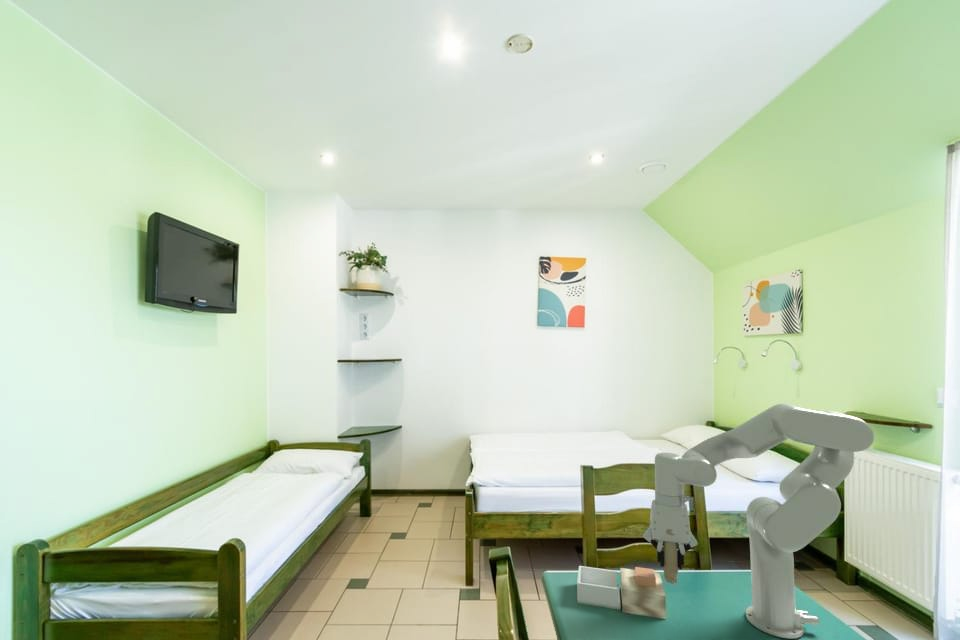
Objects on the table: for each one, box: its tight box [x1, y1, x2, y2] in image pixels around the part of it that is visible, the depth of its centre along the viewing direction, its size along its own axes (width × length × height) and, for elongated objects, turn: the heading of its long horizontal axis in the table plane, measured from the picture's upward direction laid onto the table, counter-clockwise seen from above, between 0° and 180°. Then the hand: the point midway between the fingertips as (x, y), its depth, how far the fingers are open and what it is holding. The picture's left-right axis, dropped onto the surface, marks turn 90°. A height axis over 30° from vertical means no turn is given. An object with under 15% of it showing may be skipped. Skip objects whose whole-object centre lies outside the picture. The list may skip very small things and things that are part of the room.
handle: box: [662, 529, 679, 585], centre depth 121 cm, size 5×6×15 cm
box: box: [576, 565, 621, 611], centre depth 125 cm, size 12×10×5 cm
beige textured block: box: [619, 567, 667, 620], centre depth 122 cm, size 11×12×6 cm
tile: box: [634, 566, 656, 588], centre depth 122 cm, size 5×5×2 cm
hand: (670, 565), depth 120 cm, fingers closed on handle, 4 cm apart
